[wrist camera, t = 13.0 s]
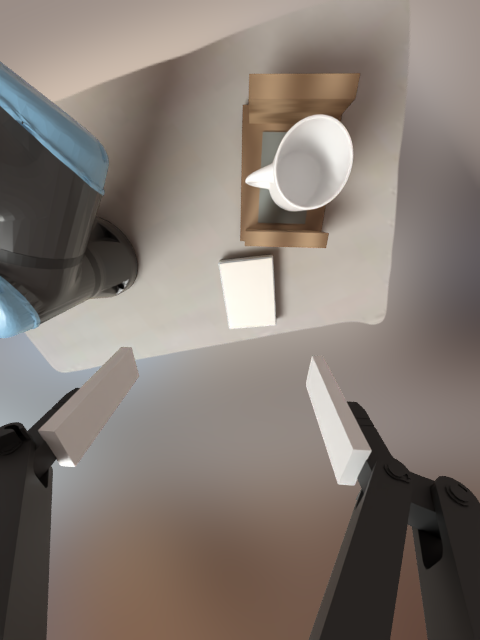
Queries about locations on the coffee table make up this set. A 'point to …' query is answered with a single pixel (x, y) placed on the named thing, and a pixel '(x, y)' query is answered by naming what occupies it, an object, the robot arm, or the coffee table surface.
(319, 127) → the mug
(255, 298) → the white rectangular block
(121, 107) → the coffee table surface
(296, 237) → the cradle
